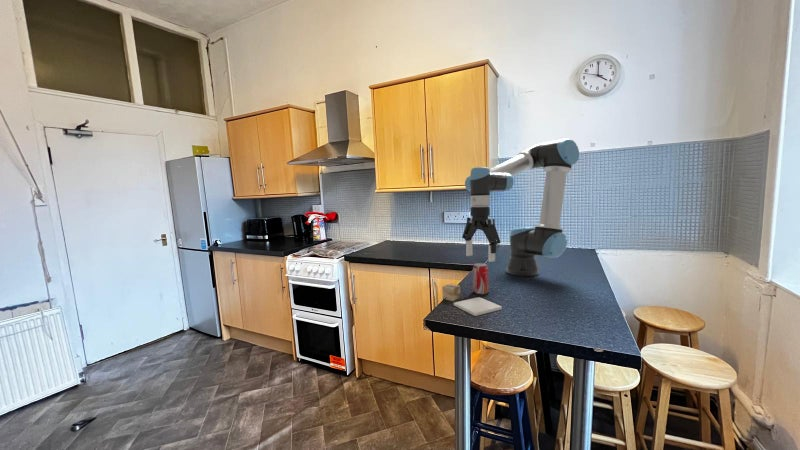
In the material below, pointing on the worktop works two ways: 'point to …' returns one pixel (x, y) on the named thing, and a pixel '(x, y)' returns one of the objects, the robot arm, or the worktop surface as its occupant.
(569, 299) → the worktop surface
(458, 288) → the oak block
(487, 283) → the beverage can
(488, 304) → the tile
